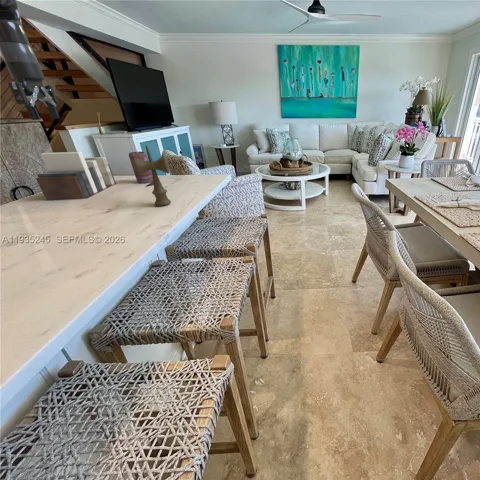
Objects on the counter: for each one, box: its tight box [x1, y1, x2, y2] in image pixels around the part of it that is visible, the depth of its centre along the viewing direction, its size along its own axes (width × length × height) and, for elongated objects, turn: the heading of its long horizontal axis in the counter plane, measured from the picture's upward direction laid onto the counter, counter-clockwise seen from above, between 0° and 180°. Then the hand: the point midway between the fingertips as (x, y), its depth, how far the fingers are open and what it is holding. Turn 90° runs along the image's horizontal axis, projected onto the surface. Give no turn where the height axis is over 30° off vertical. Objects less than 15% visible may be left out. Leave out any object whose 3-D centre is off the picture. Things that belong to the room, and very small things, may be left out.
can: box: [128, 150, 154, 188], centre depth 114 cm, size 6×6×14 cm
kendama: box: [133, 145, 172, 207], centre depth 89 cm, size 6×10×20 cm, turn 113°
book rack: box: [35, 156, 118, 202], centre depth 102 cm, size 14×22×12 cm, turn 9°
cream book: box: [40, 151, 98, 193], centre depth 98 cm, size 12×2×15 cm, turn 99°
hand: (46, 119), depth 89 cm, fingers open, 8 cm apart
